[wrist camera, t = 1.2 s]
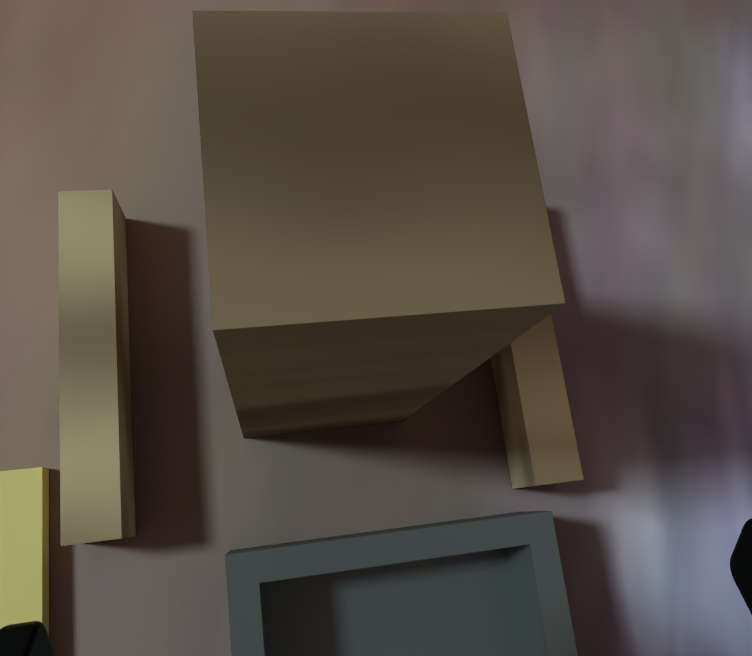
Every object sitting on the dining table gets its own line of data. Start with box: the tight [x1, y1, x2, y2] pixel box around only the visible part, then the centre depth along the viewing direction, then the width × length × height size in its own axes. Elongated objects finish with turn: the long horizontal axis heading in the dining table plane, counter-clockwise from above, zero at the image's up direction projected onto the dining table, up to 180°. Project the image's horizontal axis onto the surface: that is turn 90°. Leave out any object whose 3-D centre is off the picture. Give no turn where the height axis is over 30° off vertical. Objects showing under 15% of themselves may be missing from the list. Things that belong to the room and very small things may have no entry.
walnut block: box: [192, 11, 565, 438], centre depth 16 cm, size 5×5×12 cm
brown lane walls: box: [58, 190, 584, 546], centre depth 21 cm, size 10×14×2 cm
